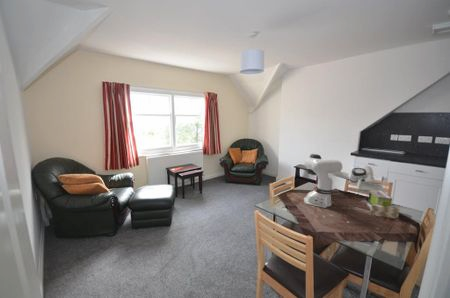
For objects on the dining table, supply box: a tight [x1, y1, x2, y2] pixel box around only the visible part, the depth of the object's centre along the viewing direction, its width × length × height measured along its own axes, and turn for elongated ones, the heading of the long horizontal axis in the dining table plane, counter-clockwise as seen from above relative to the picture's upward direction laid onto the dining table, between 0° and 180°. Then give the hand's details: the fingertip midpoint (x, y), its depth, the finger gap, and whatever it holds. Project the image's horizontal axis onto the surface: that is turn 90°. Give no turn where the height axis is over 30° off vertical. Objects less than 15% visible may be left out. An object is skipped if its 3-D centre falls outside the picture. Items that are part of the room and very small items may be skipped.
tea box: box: [366, 190, 393, 209], centre depth 167 cm, size 15×10×15 cm
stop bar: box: [369, 204, 401, 219], centre depth 159 cm, size 18×3×8 cm, turn 75°
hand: (371, 196), depth 182 cm, fingers closed
